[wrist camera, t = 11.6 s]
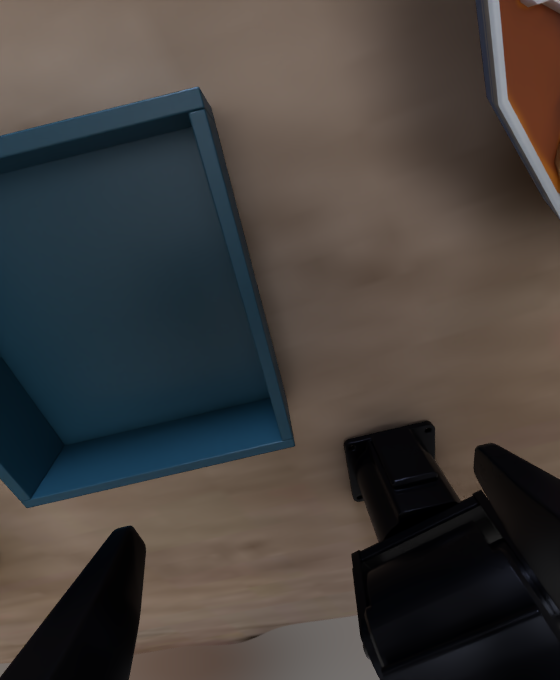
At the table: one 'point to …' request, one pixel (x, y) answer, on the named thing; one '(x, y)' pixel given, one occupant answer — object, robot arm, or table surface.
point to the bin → (128, 305)
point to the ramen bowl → (526, 82)
